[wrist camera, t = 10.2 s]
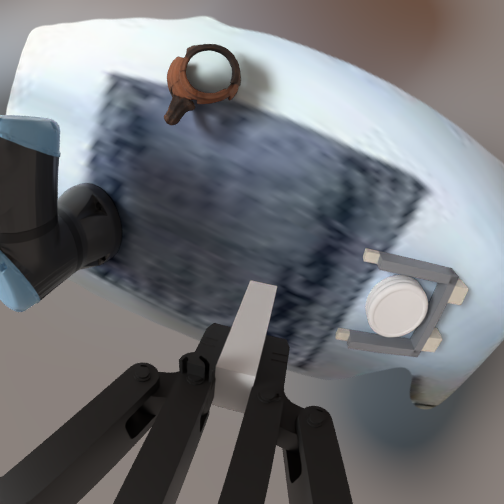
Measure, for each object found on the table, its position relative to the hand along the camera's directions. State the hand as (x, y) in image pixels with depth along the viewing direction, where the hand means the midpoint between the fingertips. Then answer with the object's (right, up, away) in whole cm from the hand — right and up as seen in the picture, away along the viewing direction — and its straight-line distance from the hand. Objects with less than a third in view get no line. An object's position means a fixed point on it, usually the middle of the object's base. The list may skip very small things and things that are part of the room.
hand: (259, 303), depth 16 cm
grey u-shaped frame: (+24, -6, +24) cm, 34 cm away
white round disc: (+22, -5, +25) cm, 34 cm away
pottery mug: (-7, +25, +18) cm, 31 cm away
